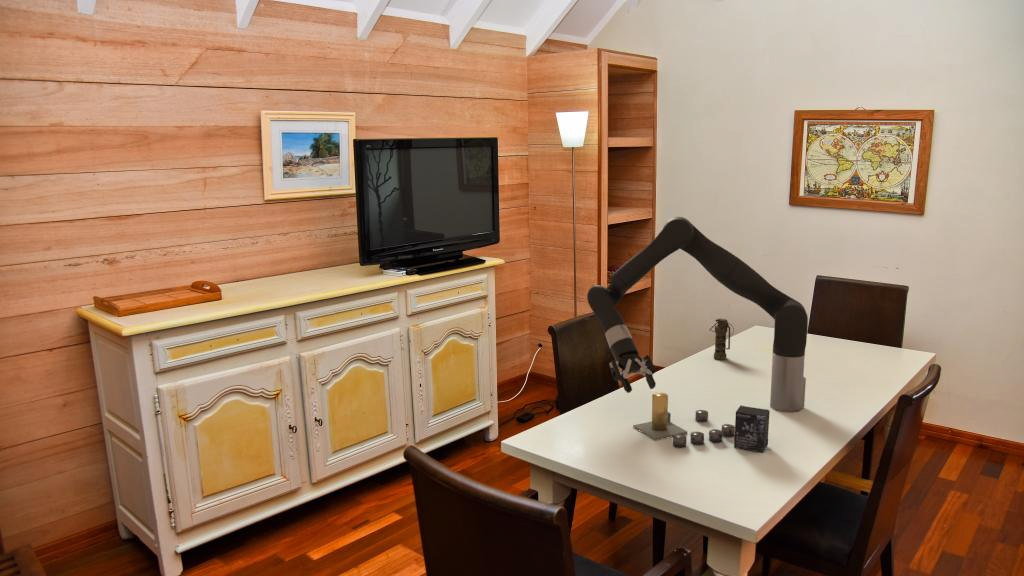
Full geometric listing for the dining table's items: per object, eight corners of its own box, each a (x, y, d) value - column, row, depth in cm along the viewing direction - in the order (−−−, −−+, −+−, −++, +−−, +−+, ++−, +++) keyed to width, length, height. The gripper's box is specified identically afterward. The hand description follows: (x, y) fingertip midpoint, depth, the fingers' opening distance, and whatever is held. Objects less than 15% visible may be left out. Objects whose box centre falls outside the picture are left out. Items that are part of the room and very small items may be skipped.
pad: (664, 420, 231) (664, 418, 231) (687, 433, 221) (687, 431, 221) (633, 427, 227) (633, 425, 226) (654, 440, 217) (654, 438, 217)
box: (733, 448, 210) (735, 411, 208) (738, 440, 215) (740, 404, 213) (763, 453, 207) (765, 416, 204) (768, 446, 211) (769, 409, 209)
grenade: (707, 359, 290) (708, 320, 287) (714, 355, 295) (715, 317, 292) (729, 363, 285) (730, 323, 282) (736, 359, 289) (737, 320, 286)
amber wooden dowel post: (661, 424, 227) (662, 391, 224) (670, 429, 223) (671, 396, 221) (648, 426, 225) (649, 394, 223) (657, 432, 221) (658, 398, 219)
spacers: (694, 412, 237) (694, 404, 236) (742, 437, 217) (742, 429, 217) (637, 424, 229) (637, 416, 228) (681, 451, 209) (681, 442, 209)
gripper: (607, 339, 233) (628, 387, 226) (645, 334, 240) (666, 380, 232) (596, 351, 239) (616, 398, 231) (634, 346, 245) (654, 392, 238)
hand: (641, 389), depth 232 cm, fingers open, 8 cm apart
